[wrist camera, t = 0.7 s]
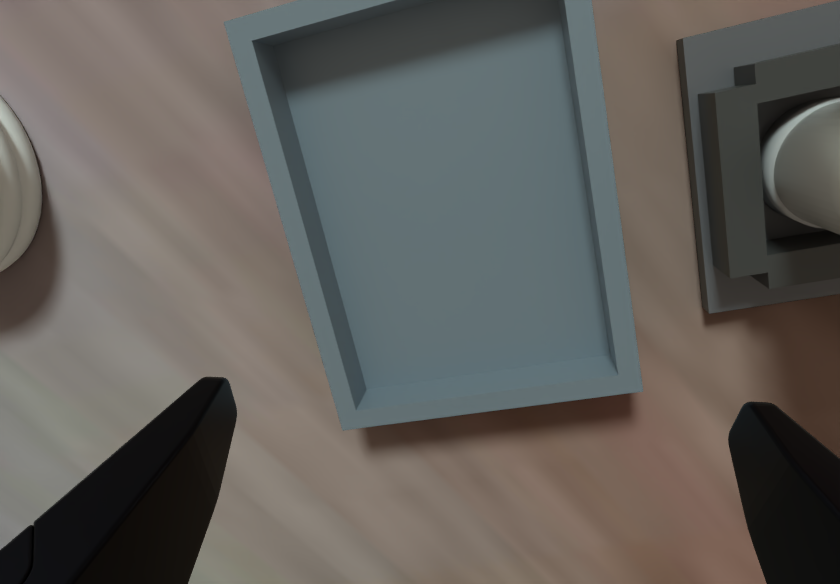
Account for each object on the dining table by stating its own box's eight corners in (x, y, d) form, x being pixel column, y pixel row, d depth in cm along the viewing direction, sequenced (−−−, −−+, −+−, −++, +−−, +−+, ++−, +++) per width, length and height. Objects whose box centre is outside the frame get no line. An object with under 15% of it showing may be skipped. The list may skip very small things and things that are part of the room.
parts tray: (630, 363, 24) (643, 391, 22) (357, 401, 27) (342, 430, 24) (572, -60, 20) (580, -82, 18) (253, 30, 22) (223, 22, 20)
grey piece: (932, 271, 22) (987, 292, 19) (702, 306, 23) (725, 330, 21) (937, -23, 19) (1001, -42, 16) (676, 40, 20) (699, 32, 18)
